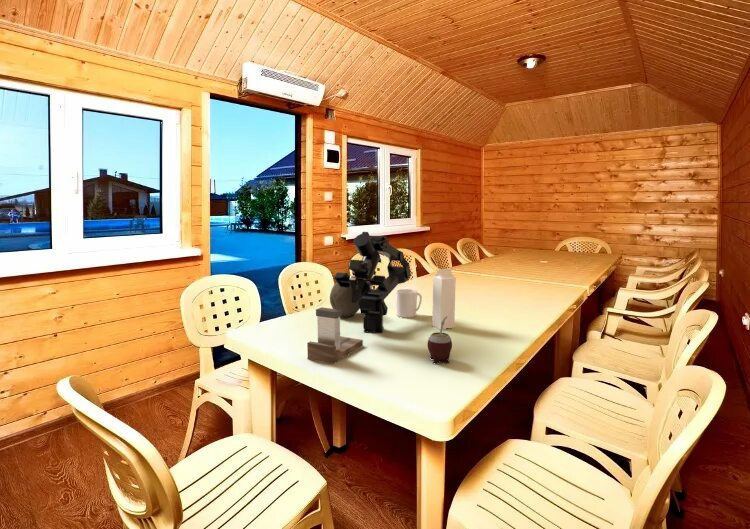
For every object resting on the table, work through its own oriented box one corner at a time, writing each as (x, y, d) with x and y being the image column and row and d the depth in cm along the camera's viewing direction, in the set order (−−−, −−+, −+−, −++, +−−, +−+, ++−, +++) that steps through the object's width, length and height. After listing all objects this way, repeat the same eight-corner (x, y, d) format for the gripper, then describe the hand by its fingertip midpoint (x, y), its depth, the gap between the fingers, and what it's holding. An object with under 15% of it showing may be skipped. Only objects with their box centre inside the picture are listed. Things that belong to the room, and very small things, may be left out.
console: (339, 341, 146) (338, 327, 145) (362, 345, 142) (362, 330, 141) (307, 358, 130) (307, 342, 129) (333, 364, 126) (333, 347, 125)
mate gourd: (435, 355, 133) (436, 307, 131) (458, 361, 128) (459, 311, 126) (421, 362, 127) (422, 312, 125) (445, 368, 122) (446, 316, 120)
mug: (392, 317, 176) (392, 292, 175) (399, 312, 185) (399, 288, 183) (418, 320, 172) (418, 294, 171) (424, 314, 181) (424, 290, 179)
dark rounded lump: (363, 320, 172) (363, 282, 170) (328, 319, 172) (327, 282, 170) (365, 311, 186) (365, 276, 184) (332, 311, 186) (331, 276, 184)
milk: (454, 328, 161) (456, 269, 158) (440, 330, 159) (442, 270, 156) (445, 324, 167) (447, 267, 163) (431, 325, 164) (433, 268, 161)
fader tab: (322, 345, 134) (321, 307, 133) (341, 348, 131) (341, 309, 130) (316, 348, 132) (315, 309, 130) (336, 351, 129) (335, 312, 127)
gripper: (336, 248, 149) (319, 286, 141) (385, 251, 141) (370, 291, 133) (348, 268, 158) (332, 304, 149) (395, 272, 149) (381, 310, 141)
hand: (352, 302), depth 143 cm, fingers closed
